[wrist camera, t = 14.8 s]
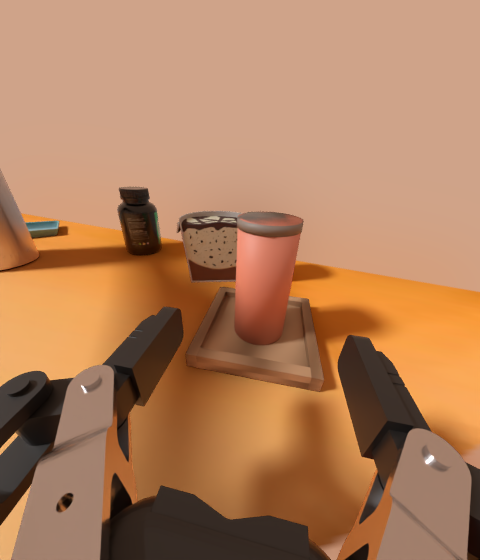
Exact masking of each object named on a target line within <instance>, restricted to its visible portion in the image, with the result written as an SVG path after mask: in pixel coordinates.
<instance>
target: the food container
mask: <svg viewBox="0 0 480 560" xmlns="http://www.w3.org/2000/svg"><path fill="white" fill-rule="evenodd" d="M239 214H242V213H237V212H228V211H203V212H194V213H189V214H186V215H183V216H181V217H180V218H179V222H178V224H177V233H178V232H179V231H180V230H181V234H182V239H183V244H184V249H185V254H186V259H187V263H188V268H189V273H190V278H191V282H236V262H237V232H238V228H237V216H238V215H239Z"/></svg>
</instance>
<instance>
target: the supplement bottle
mask: <svg viewBox="0 0 480 560" xmlns="http://www.w3.org/2000/svg"><path fill="white" fill-rule="evenodd" d="M119 191H120V198H121V199H122V200H123V202H122V203H121V204H120V205H119V206H118V209H117V210H118V215H119V219H120V223H121V228H122V232H123V236H124V241H125V245H126V249H127V251H128V252H129V253H131V254H133V255H150V254H154V253H156V252H158V251H160V250H161V248H162V244H161V236H160V230H159V222H158V215H157V209H156V207H155V206H154V205H153V204H152V203H150V202H149V201H148V199H149V198H150V197H149V193H148V189H147V188H144V187H121V188H119Z"/></svg>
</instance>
